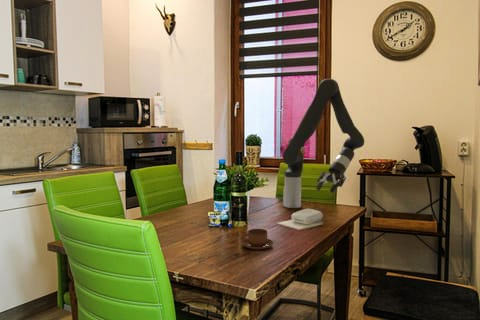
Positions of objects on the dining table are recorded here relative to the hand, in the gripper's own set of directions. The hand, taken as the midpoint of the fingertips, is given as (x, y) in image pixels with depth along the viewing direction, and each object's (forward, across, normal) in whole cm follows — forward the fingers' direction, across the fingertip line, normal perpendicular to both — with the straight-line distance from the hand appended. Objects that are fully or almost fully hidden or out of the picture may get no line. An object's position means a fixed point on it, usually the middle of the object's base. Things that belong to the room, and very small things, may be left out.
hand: (324, 190), depth 198 cm
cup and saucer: (+49, +14, -29) cm, 59 cm away
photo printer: (+12, 0, +3) cm, 12 cm away
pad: (+22, 0, -2) cm, 22 cm away
